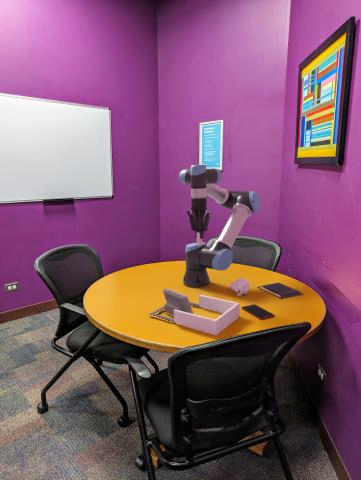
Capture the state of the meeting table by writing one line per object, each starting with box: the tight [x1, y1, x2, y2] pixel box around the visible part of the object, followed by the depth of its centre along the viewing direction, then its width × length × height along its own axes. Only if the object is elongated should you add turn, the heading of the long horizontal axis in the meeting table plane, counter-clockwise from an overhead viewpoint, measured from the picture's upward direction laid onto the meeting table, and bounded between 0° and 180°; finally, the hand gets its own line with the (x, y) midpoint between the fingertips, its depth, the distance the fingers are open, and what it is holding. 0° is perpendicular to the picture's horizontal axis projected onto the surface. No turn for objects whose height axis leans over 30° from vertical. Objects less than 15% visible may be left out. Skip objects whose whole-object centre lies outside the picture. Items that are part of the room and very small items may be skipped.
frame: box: [148, 301, 199, 322], centre depth 156 cm, size 13×21×1 cm, turn 145°
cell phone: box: [241, 303, 276, 321], centre depth 152 cm, size 8×15×1 cm, turn 26°
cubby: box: [173, 294, 241, 336], centre depth 146 cm, size 20×21×6 cm
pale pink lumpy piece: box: [230, 277, 251, 297], centre depth 176 cm, size 6×8×12 cm
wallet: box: [256, 282, 304, 300], centre depth 179 cm, size 20×2×15 cm
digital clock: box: [162, 287, 194, 316], centre depth 152 cm, size 16×9×11 cm, turn 28°
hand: (199, 244), depth 170 cm, fingers closed
